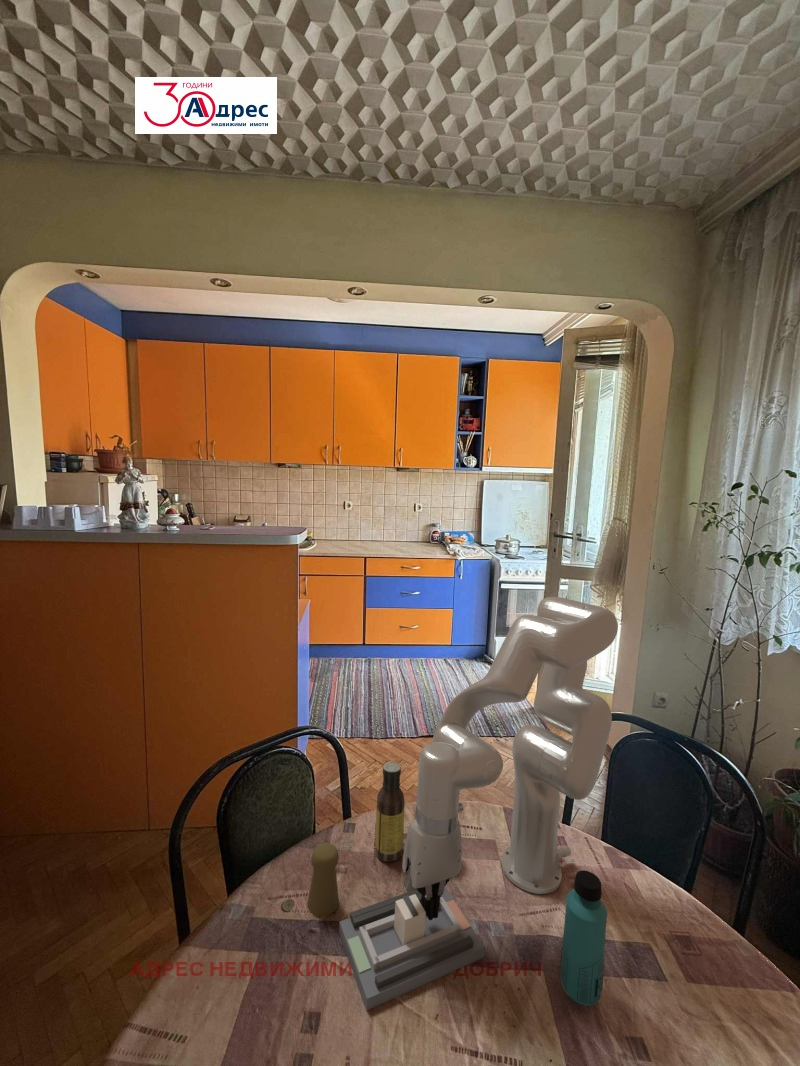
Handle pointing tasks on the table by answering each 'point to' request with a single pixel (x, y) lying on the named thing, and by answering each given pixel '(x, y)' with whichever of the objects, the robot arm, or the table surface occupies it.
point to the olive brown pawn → (323, 881)
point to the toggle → (409, 919)
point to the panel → (405, 949)
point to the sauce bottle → (390, 815)
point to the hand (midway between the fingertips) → (429, 912)
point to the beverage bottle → (584, 940)
